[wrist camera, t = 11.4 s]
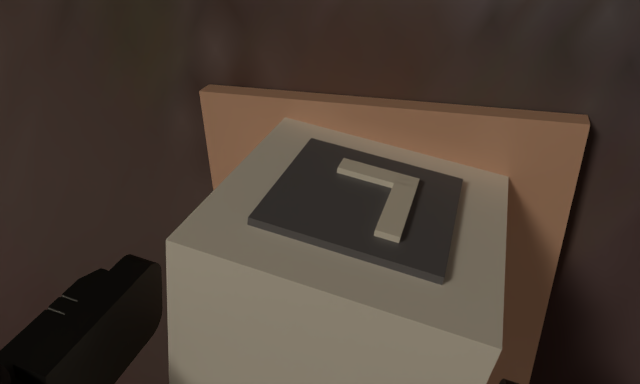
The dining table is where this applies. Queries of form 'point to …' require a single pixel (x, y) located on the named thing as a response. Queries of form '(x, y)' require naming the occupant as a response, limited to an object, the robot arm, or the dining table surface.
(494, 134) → the coaster
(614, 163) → the dining table surface
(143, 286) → the robot arm
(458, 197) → the cube
